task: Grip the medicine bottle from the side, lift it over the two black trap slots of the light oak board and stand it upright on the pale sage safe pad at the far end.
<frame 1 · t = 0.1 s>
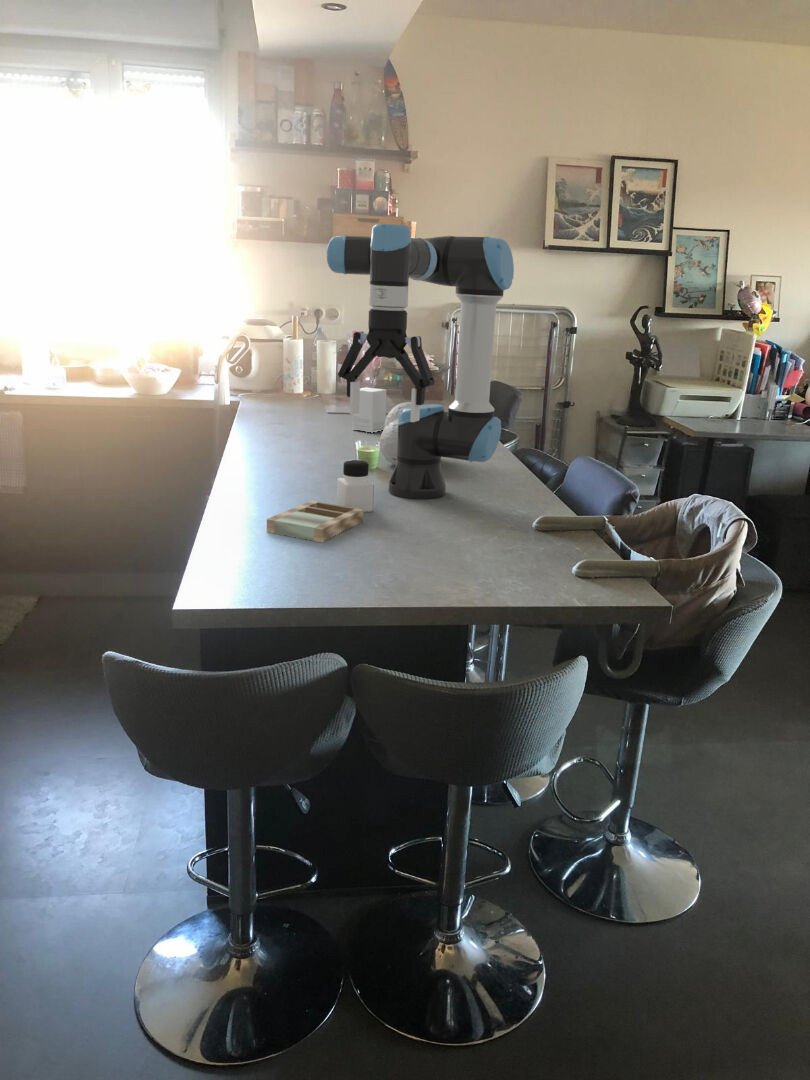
hand: (384, 417, 175), 28 cm above the counter, tool pointing down, fingers open, 13 cm apart
medicine bottle: (354, 509, 213), on the counter
supplement box: (368, 431, 315), on the counter
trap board: (316, 526, 197), on the counter
cauliflower: (410, 463, 267), on the counter
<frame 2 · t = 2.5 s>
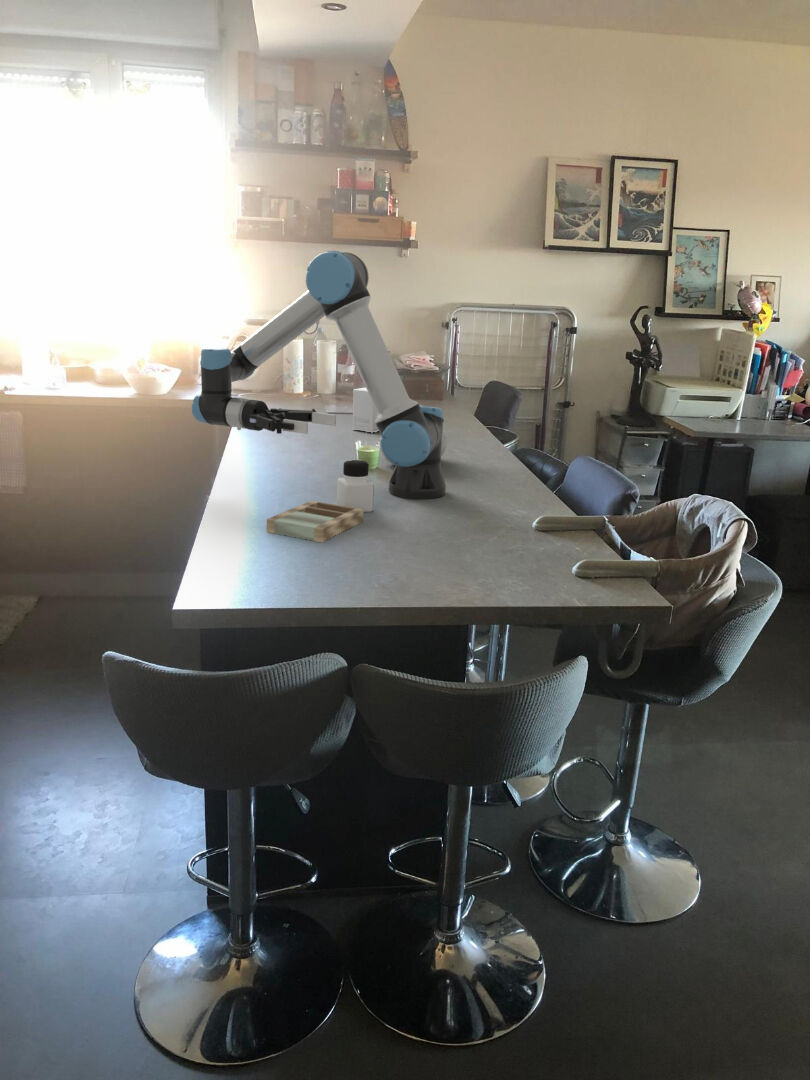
hand: (321, 424, 211), 20 cm above the counter, tool horizontal, fingers open, 13 cm apart
nothing on the counter moved.
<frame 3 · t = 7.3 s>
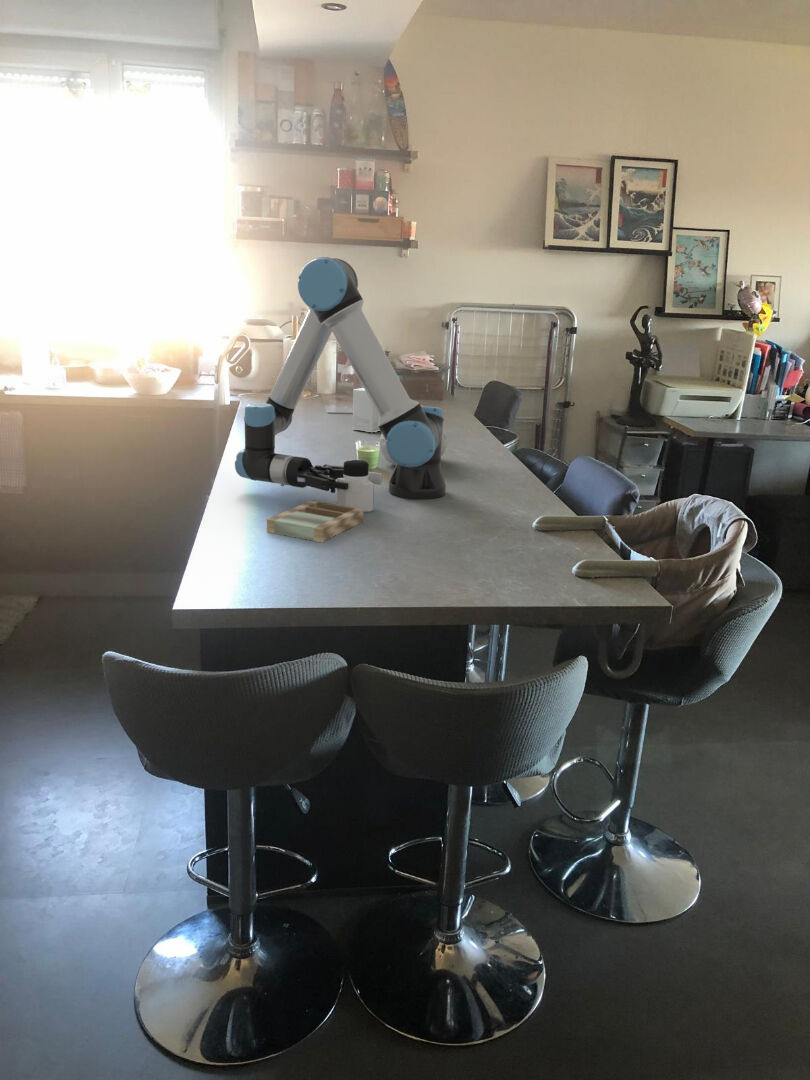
hand: (371, 483, 209), 7 cm above the counter, tool horizontal, fingers closed on medicine bottle, 10 cm apart
medicine bottle: (354, 509, 213), on the counter, touching gripper
everything else where it was.
when the fingers open (11 cm above the counter, at t = 13.9 s): medicine bottle drops 1 cm, resting on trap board.
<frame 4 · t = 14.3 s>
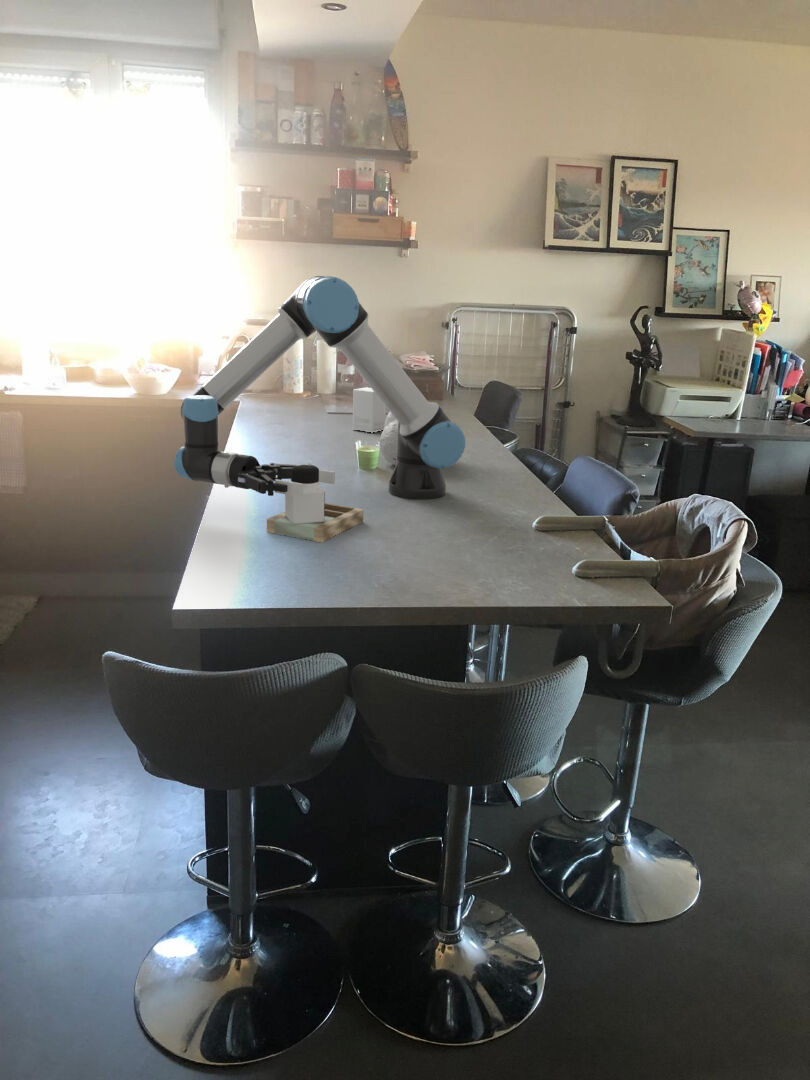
hand: (318, 483, 188), 11 cm above the counter, tool horizontal, fingers open, 13 cm apart
medicine bottle: (304, 519, 192), point 3 cm above the counter, touching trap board
everything else where it was.
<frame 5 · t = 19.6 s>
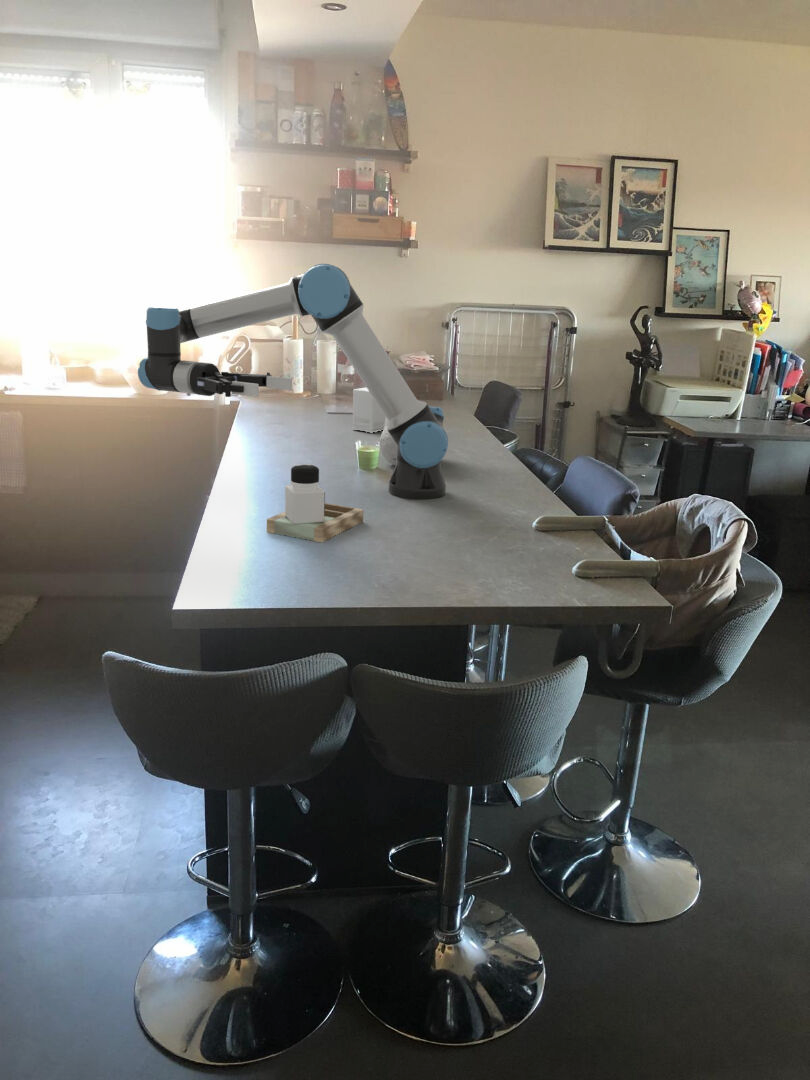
hand: (275, 387, 195), 30 cm above the counter, tool horizontal, fingers open, 13 cm apart
nothing on the counter moved.
at the end: medicine bottle inside the target area on the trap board (0.4 cm from its centre), point 2.8 cm above the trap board's base; medicine bottle tilted 0°; the gripper is holding nothing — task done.
